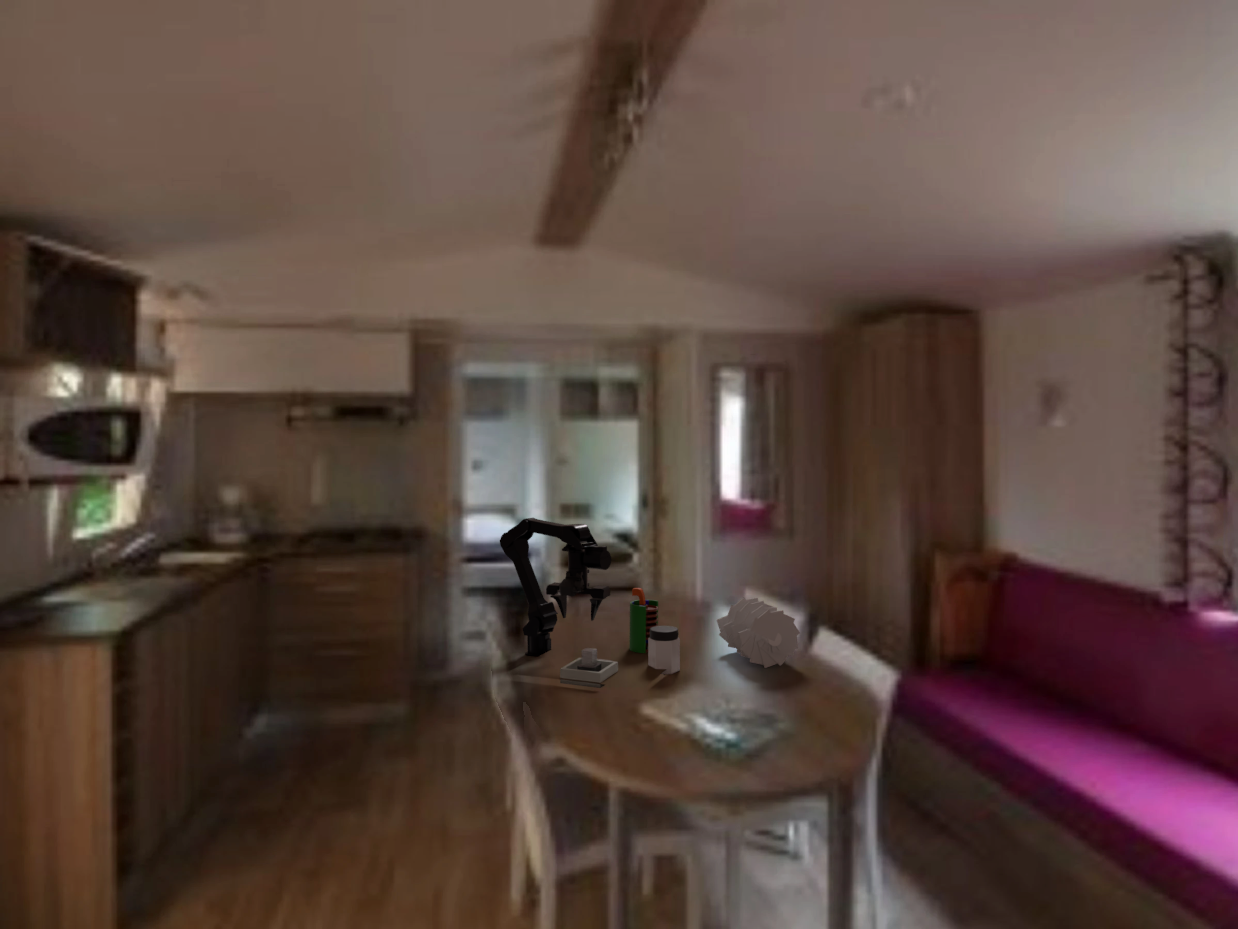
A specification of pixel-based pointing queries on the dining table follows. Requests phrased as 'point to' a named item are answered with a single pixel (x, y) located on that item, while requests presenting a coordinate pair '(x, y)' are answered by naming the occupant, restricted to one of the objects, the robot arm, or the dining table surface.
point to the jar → (664, 649)
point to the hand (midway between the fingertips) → (578, 619)
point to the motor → (641, 621)
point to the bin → (587, 673)
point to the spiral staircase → (759, 632)
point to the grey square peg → (589, 660)
